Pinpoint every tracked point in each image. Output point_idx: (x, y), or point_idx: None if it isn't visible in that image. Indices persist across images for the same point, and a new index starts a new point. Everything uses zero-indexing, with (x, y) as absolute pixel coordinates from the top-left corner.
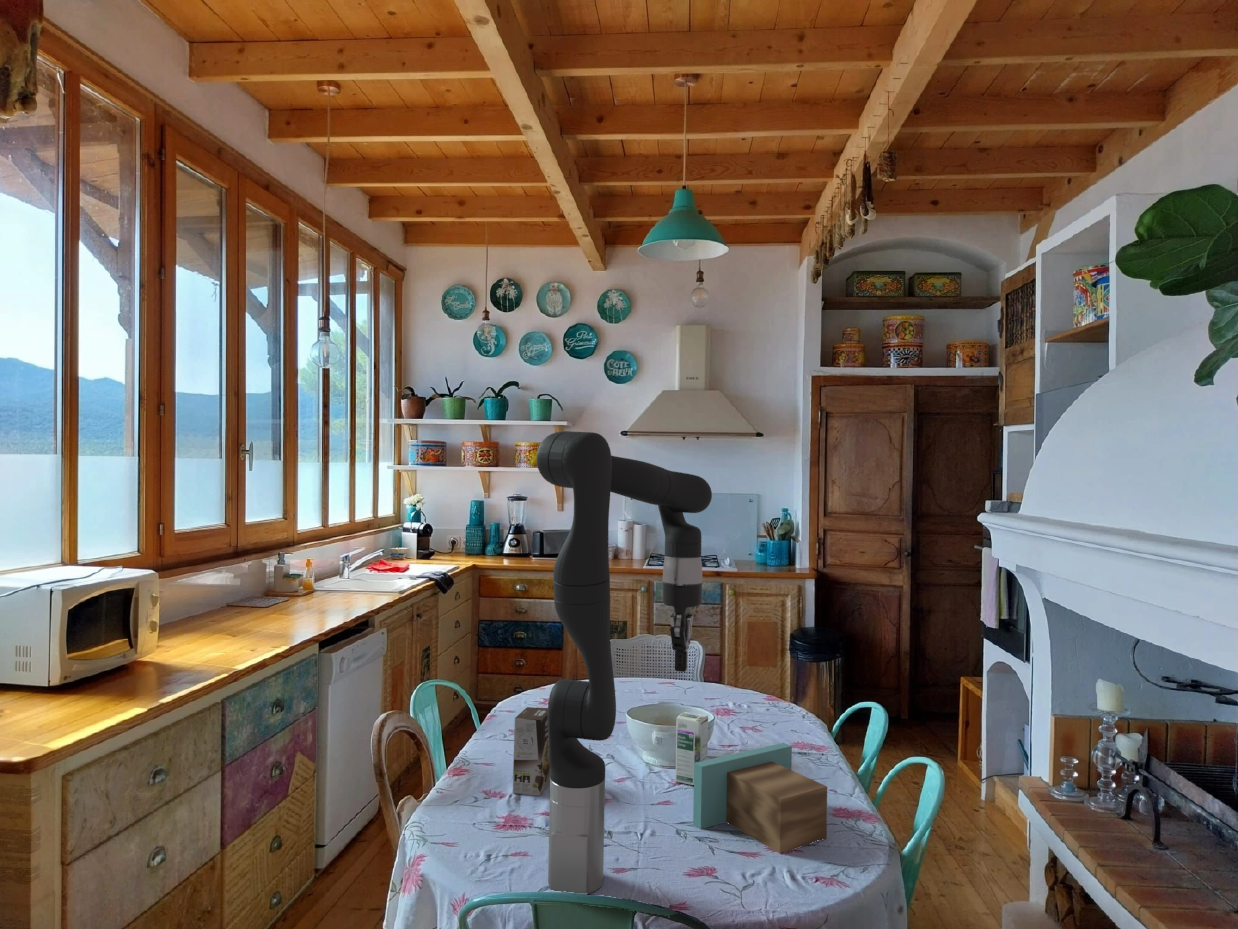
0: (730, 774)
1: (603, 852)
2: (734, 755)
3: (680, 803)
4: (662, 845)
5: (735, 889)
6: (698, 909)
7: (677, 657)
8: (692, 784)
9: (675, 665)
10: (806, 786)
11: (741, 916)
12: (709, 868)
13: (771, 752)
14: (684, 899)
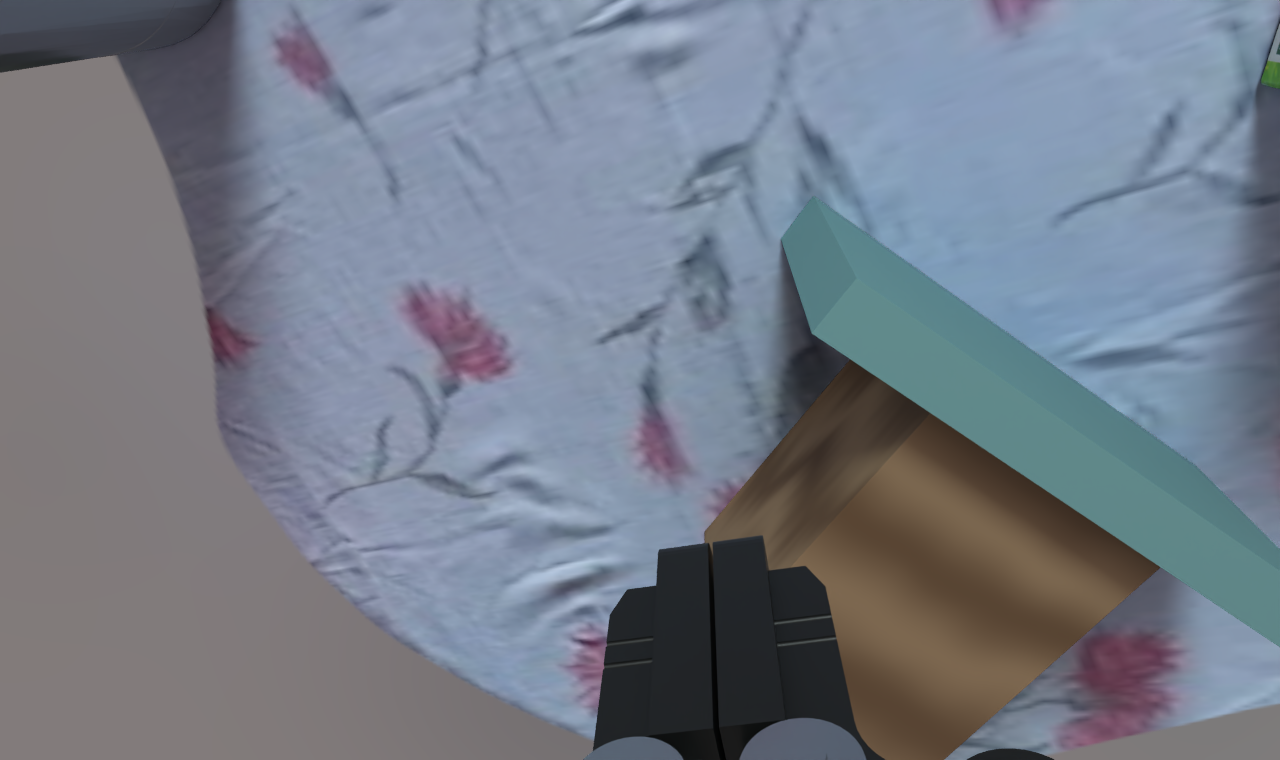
0: (919, 422)
1: (109, 53)
2: (1057, 444)
3: (1024, 66)
4: (574, 140)
5: (409, 458)
6: (239, 391)
7: (597, 723)
8: (1272, 51)
9: (658, 591)
10: (889, 720)
11: (280, 504)
12: (493, 354)
13: (1191, 585)
14: (264, 338)
